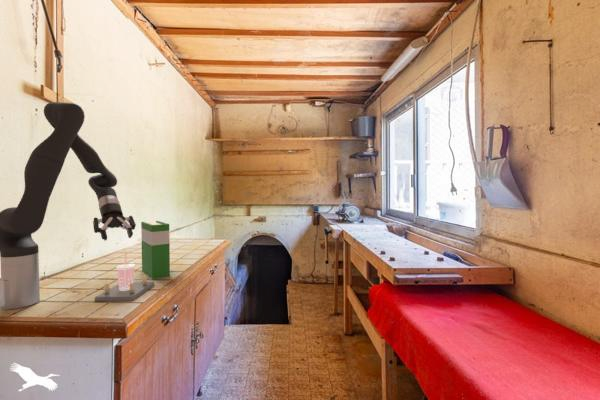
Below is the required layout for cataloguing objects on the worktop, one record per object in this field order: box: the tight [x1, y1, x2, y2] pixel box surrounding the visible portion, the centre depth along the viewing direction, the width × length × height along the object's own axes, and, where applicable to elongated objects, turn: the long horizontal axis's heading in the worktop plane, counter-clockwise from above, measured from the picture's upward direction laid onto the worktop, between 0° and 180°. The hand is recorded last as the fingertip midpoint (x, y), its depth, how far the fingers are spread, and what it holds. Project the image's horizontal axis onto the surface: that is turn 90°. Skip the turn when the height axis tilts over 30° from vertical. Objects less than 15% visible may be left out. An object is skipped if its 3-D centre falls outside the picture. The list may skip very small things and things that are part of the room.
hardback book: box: [140, 220, 171, 280], centre depth 131 cm, size 18×7×24 cm, turn 43°
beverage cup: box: [115, 252, 136, 291], centre depth 106 cm, size 6×6×14 cm
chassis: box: [94, 275, 155, 302], centre depth 106 cm, size 16×13×5 cm
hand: (118, 237), depth 112 cm, fingers open, 8 cm apart
